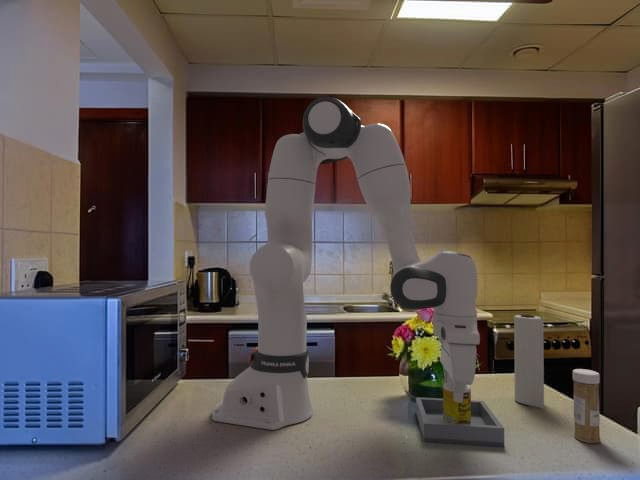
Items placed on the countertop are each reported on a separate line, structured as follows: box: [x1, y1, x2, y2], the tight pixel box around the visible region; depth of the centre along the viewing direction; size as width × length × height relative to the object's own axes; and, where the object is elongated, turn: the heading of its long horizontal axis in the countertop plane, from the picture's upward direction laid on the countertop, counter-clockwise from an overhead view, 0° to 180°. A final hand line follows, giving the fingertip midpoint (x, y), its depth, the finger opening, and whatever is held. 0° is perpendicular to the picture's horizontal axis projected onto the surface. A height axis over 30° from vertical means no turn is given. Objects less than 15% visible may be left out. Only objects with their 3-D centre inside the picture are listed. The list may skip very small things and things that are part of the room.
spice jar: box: [572, 368, 601, 444], centre depth 83 cm, size 5×5×14 cm
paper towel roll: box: [513, 314, 545, 409], centre depth 104 cm, size 7×6×21 cm
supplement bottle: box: [442, 374, 472, 424], centre depth 88 cm, size 6×6×10 cm
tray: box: [415, 396, 505, 448], centre depth 88 cm, size 15×15×4 cm
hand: (453, 393), depth 88 cm, fingers open, 8 cm apart
